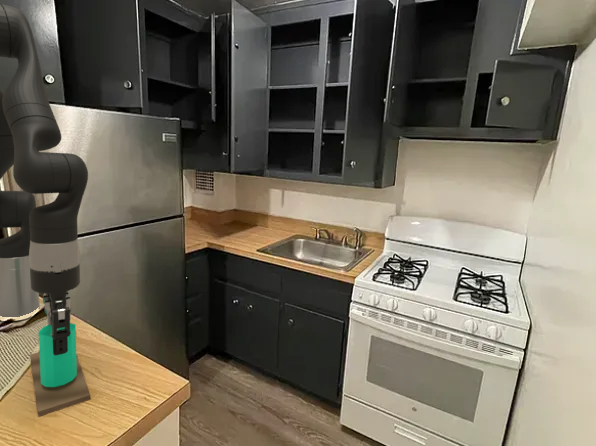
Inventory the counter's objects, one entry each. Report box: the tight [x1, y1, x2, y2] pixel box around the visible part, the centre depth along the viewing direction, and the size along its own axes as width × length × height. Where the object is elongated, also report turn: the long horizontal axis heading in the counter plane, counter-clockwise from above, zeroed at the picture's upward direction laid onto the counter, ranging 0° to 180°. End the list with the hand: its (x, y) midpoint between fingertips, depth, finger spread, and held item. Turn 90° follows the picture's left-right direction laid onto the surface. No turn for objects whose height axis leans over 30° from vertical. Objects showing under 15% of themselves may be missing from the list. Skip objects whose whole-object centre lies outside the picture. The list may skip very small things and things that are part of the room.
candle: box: [38, 322, 77, 387], centre depth 67 cm, size 6×6×12 cm
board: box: [29, 352, 91, 417], centre depth 70 cm, size 20×8×1 cm, turn 40°
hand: (58, 344), depth 67 cm, fingers closed on candle, 6 cm apart
